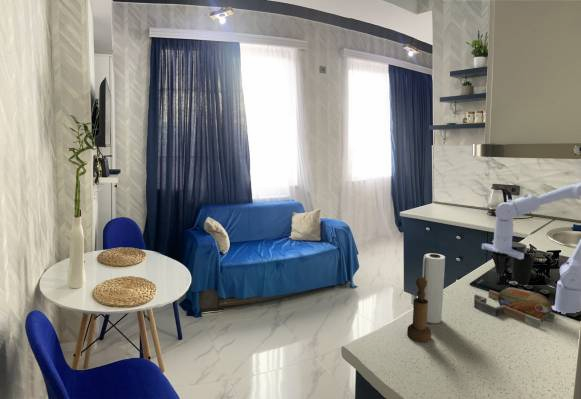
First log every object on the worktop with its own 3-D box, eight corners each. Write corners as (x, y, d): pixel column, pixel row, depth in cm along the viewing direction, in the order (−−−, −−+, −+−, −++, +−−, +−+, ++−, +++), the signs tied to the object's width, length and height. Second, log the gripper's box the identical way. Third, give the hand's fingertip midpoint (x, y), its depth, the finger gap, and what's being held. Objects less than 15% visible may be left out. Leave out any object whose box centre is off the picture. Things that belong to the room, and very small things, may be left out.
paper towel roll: (438, 315, 125) (442, 252, 122) (443, 324, 119) (447, 258, 116) (415, 314, 126) (418, 252, 122) (420, 323, 120) (423, 258, 116)
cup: (534, 288, 147) (537, 258, 145) (513, 287, 148) (515, 257, 146) (526, 281, 154) (529, 252, 152) (506, 279, 156) (508, 251, 154)
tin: (496, 309, 130) (498, 285, 128) (499, 306, 132) (501, 283, 130) (548, 324, 119) (551, 298, 118) (551, 321, 121) (553, 295, 120)
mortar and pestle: (434, 336, 112) (437, 277, 109) (425, 344, 107) (428, 284, 105) (413, 328, 117) (415, 272, 114) (403, 336, 112) (405, 278, 109)
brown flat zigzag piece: (497, 294, 142) (497, 288, 141) (561, 318, 122) (562, 311, 122) (466, 303, 134) (467, 297, 133) (530, 331, 114) (531, 323, 114)
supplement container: (530, 275, 161) (533, 247, 159) (505, 275, 161) (508, 247, 160) (516, 266, 172) (519, 240, 170) (493, 266, 172) (495, 240, 170)
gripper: (477, 233, 139) (474, 268, 142) (516, 242, 127) (512, 281, 129) (489, 231, 143) (486, 265, 145) (528, 239, 130) (525, 277, 132)
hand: (499, 273), depth 137 cm, fingers closed
